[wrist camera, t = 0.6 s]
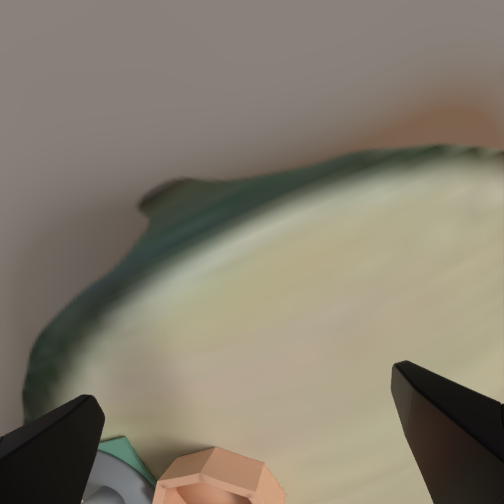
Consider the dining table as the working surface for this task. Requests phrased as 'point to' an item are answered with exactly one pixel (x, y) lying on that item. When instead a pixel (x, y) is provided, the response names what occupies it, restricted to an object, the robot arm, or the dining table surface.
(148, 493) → the lid
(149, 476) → the mat
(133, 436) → the dining table surface
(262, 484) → the bowl
